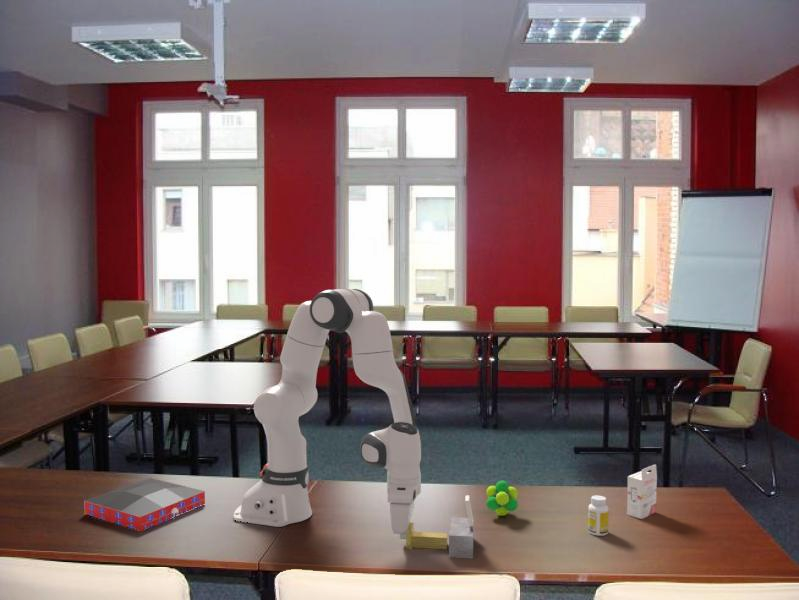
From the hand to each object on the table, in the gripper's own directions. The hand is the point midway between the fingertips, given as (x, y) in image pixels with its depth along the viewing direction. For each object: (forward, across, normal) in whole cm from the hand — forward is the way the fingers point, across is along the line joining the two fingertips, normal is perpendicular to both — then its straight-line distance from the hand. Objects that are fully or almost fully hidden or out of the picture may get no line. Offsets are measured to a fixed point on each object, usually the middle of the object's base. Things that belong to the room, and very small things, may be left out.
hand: (403, 537), depth 187 cm
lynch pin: (+2, 0, +6) cm, 6 cm away
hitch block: (+2, 0, +15) cm, 15 cm away
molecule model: (+2, -24, +26) cm, 36 cm away
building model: (+2, -14, -78) cm, 79 cm away
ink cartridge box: (+2, -32, +67) cm, 74 cm away
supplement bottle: (+2, -15, +52) cm, 54 cm away
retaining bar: (-4, 0, +18) cm, 18 cm away
